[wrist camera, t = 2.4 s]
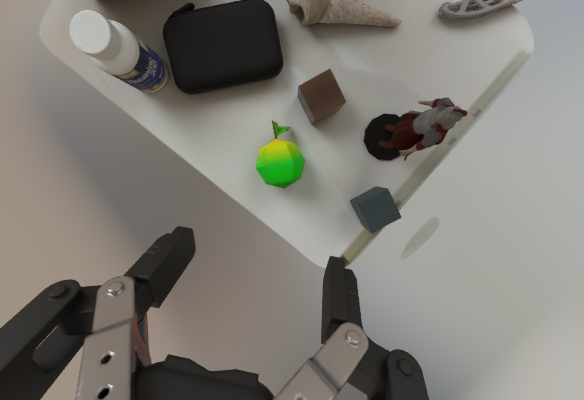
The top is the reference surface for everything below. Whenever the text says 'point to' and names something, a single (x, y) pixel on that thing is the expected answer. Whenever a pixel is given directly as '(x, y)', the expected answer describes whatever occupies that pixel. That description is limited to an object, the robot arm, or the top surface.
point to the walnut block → (320, 96)
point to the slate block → (375, 208)
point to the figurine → (411, 129)
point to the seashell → (340, 13)
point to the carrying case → (222, 45)
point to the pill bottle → (118, 51)
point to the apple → (280, 160)
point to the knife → (480, 10)
